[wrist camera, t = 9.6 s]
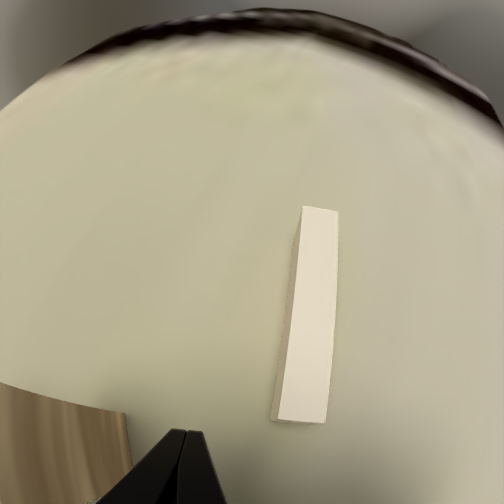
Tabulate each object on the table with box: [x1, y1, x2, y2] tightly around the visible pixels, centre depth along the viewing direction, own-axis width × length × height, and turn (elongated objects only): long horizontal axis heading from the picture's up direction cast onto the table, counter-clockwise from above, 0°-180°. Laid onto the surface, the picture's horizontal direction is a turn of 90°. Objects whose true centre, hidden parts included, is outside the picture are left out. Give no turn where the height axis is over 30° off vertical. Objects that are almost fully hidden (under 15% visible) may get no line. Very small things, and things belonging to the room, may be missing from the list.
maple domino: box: [0, 382, 133, 504], centre depth 9 cm, size 2×4×11 cm, turn 10°
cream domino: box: [270, 206, 338, 424], centre depth 16 cm, size 2×4×11 cm
